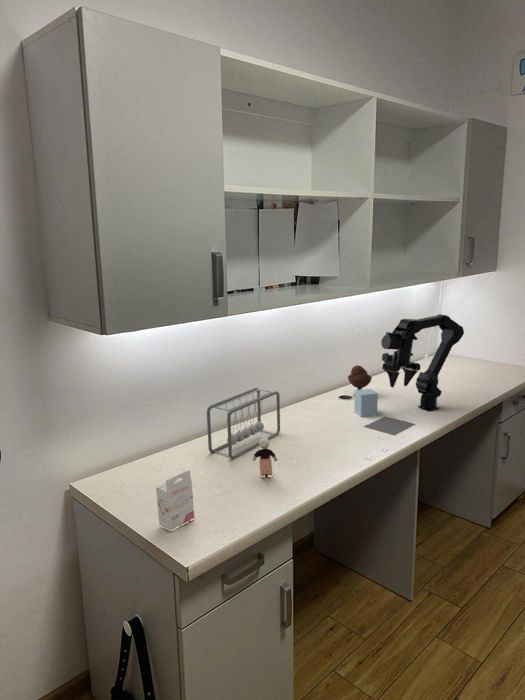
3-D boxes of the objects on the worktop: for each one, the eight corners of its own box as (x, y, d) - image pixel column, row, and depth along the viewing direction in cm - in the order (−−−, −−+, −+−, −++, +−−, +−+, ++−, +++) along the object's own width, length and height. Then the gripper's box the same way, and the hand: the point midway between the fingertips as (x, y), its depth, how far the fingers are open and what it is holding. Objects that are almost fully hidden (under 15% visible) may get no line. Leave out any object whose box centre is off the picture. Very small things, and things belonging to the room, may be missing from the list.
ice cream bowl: (371, 399, 241) (372, 368, 238) (347, 399, 243) (347, 367, 240) (371, 393, 251) (372, 362, 248) (348, 392, 253) (348, 362, 250)
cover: (370, 411, 226) (370, 388, 224) (377, 416, 219) (377, 393, 217) (354, 412, 224) (354, 390, 222) (361, 418, 217) (361, 395, 215)
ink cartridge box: (183, 514, 146) (179, 464, 142) (194, 520, 142) (191, 469, 139) (158, 527, 139) (154, 475, 136) (169, 533, 136) (166, 481, 133)
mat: (385, 417, 218) (385, 416, 218) (415, 425, 208) (415, 424, 208) (363, 427, 207) (363, 426, 207) (394, 436, 197) (394, 435, 197)
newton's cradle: (259, 428, 209) (258, 385, 205) (280, 434, 202) (280, 390, 199) (208, 454, 185) (205, 406, 182) (230, 461, 179) (228, 411, 175)
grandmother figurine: (275, 471, 170) (275, 435, 167) (278, 477, 166) (277, 439, 163) (252, 474, 169) (251, 437, 166) (254, 479, 165) (252, 441, 162)
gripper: (401, 346, 228) (396, 381, 230) (374, 346, 216) (369, 383, 218) (423, 351, 219) (417, 387, 222) (396, 351, 207) (391, 389, 210)
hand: (398, 386), depth 218 cm, fingers open, 9 cm apart
